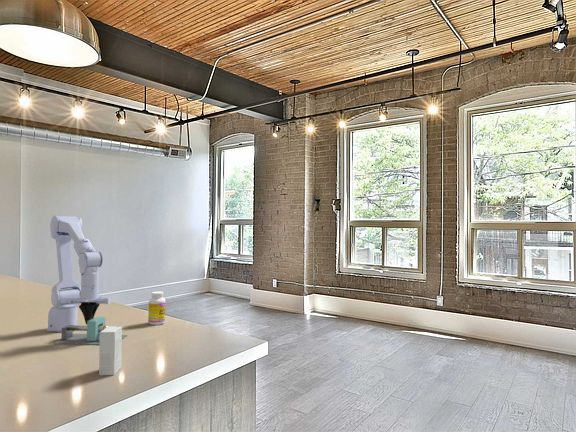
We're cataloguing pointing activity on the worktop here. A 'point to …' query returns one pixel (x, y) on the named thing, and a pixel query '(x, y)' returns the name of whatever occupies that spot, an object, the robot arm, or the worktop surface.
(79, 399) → the worktop surface
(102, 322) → the teal slotted block
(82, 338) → the grey rectangular plate
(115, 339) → the skincare box
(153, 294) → the supplement bottle
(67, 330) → the pipe
